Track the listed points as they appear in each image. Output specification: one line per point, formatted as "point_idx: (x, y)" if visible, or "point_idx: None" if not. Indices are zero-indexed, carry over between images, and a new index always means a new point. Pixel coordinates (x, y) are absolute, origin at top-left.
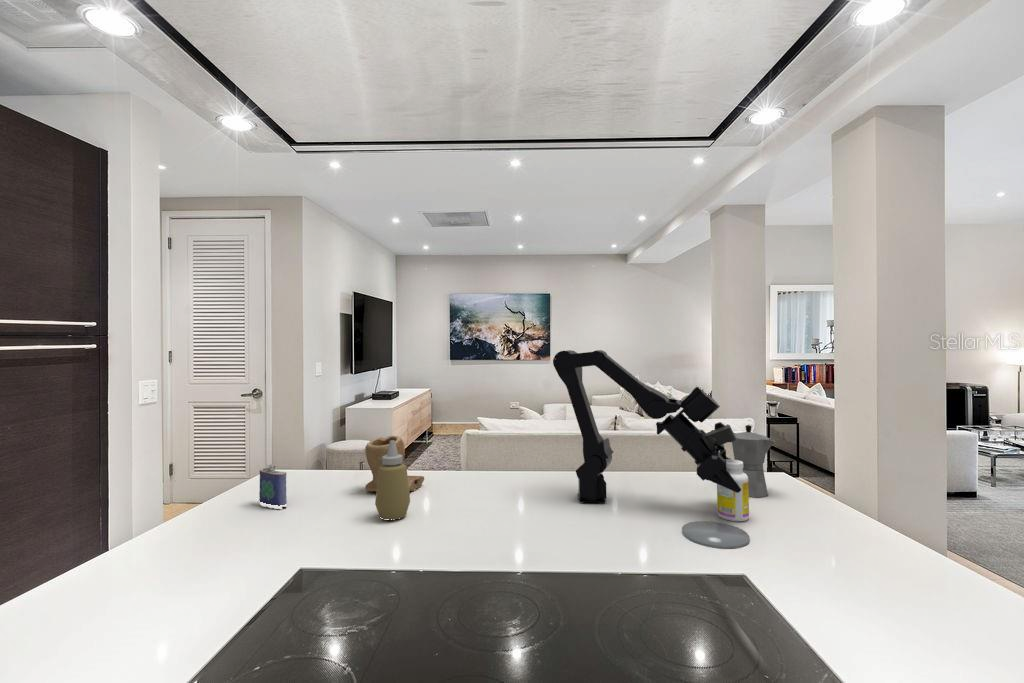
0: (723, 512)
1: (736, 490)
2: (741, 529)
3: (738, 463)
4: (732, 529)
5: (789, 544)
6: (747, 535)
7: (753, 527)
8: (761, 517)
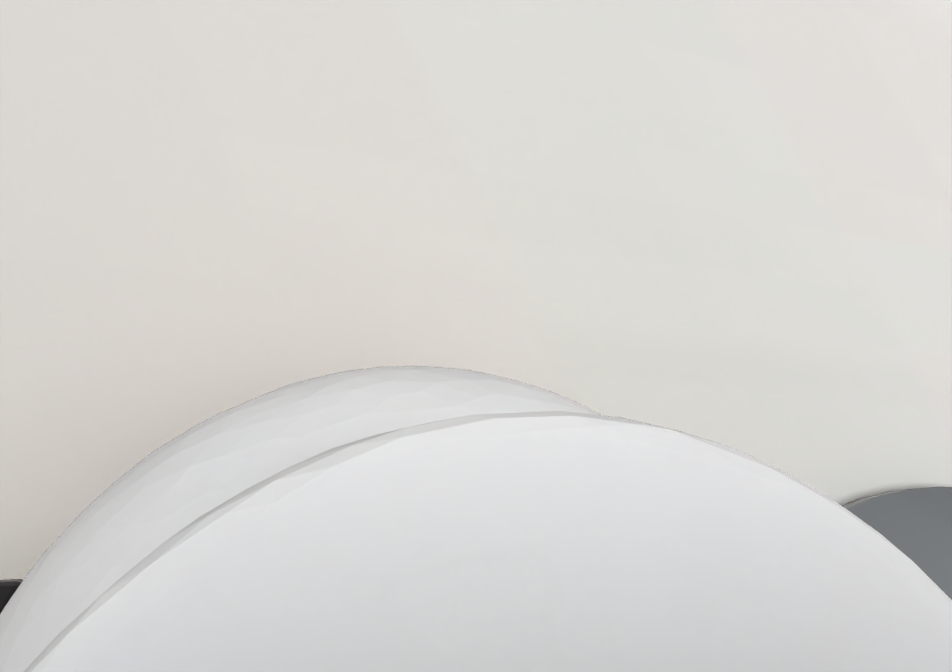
0: None
1: None
2: None
3: (937, 655)
4: None
5: (834, 195)
6: (909, 503)
7: None
8: (224, 340)
